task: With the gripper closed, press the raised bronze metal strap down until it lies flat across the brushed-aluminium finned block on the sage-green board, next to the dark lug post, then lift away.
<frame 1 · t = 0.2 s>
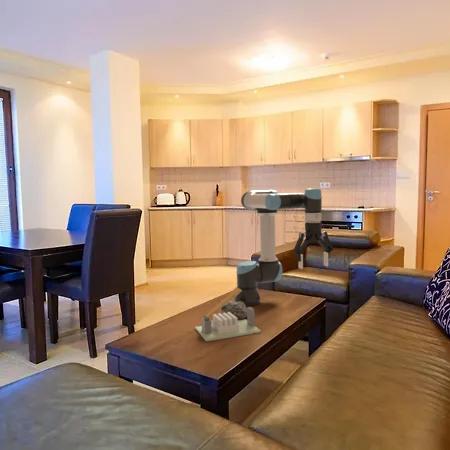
hand: (313, 267, 181), 28 cm above the table, fingers open, 13 cm apart
strap: (222, 303, 177), point 13 cm above the table, hinge at -35.0°
heatsink board: (227, 330, 179), on the table
rock: (234, 317, 198), on the table
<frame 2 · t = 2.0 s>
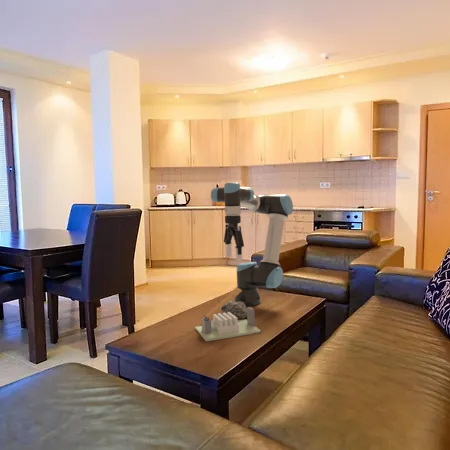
hand: (233, 259, 187), 32 cm above the table, fingers open, 12 cm apart
nothing on the table moved.
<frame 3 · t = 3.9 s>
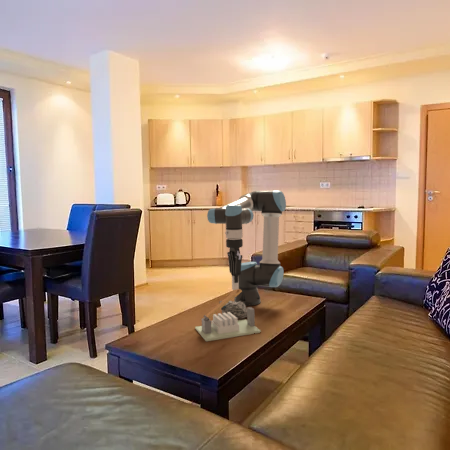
hand: (235, 289, 179), 19 cm above the table, fingers closed
strap: (222, 303, 177), point 13 cm above the table, hinge at -34.2°, touching gripper
everything else where it was.
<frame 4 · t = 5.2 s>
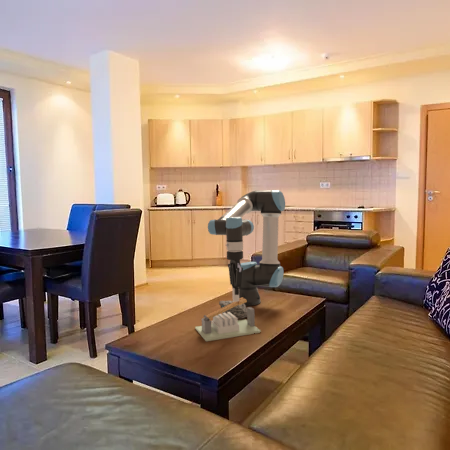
hand: (236, 301, 179), 14 cm above the table, fingers closed
strap: (225, 308, 178), point 11 cm above the table, hinge at -18.0°, touching gripper
everything else where it was.
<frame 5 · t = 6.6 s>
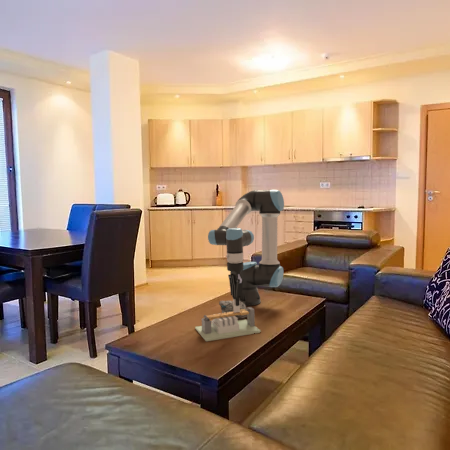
hand: (236, 311, 180), 8 cm above the table, fingers closed
strap: (226, 314, 178), point 8 cm above the table, hinge at -0.6°, touching gripper
everything else where it was.
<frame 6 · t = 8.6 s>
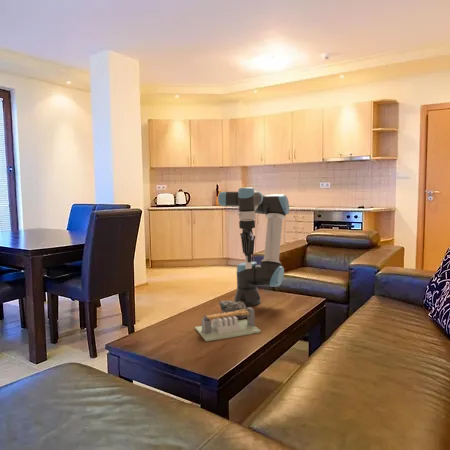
hand: (248, 268, 187), 27 cm above the table, fingers closed
strap: (226, 314, 178), point 8 cm above the table, hinge at -0.6°
everything else where it was.
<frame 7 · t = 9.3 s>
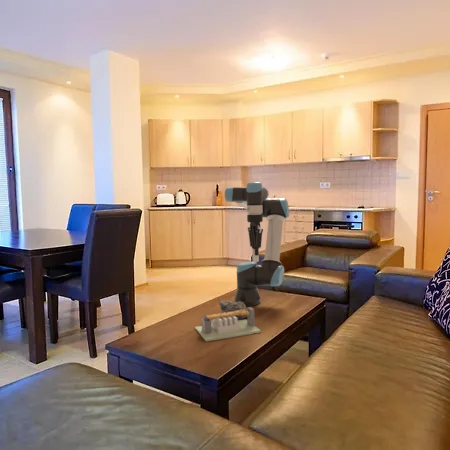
hand: (255, 261, 191), 29 cm above the table, fingers closed
nothing on the table moved.
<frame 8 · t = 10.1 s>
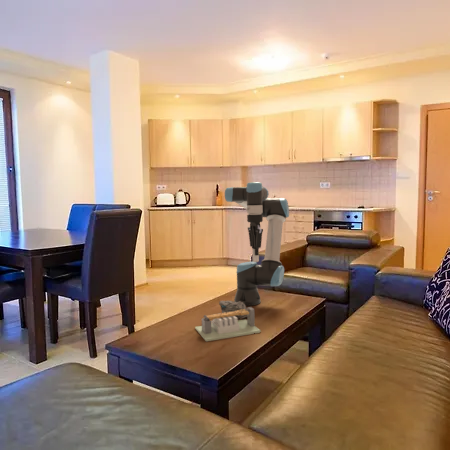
hand: (255, 261, 191), 29 cm above the table, fingers closed
nothing on the table moved.
at the end: strap at -1° (first picture: -35°) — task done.
